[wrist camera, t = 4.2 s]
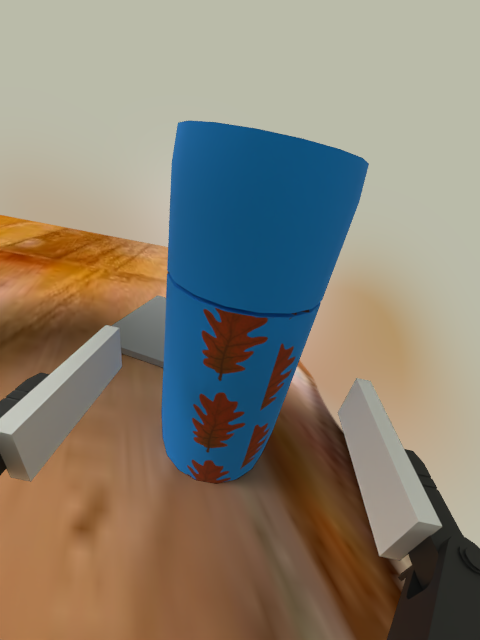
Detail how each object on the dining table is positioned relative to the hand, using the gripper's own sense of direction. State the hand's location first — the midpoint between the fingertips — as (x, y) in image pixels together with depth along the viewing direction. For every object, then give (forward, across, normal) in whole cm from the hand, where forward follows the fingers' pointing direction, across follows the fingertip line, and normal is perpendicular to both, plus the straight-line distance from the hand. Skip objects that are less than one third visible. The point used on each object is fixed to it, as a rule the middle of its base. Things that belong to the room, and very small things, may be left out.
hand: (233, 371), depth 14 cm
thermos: (+6, 0, -14) cm, 15 cm away
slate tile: (+22, -10, -14) cm, 28 cm away
